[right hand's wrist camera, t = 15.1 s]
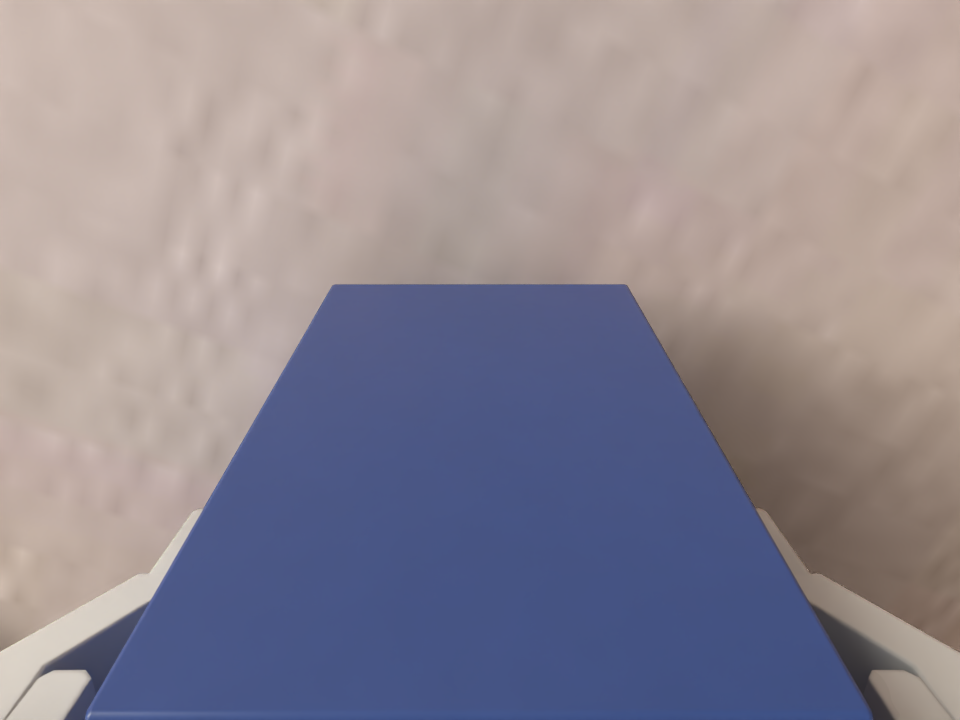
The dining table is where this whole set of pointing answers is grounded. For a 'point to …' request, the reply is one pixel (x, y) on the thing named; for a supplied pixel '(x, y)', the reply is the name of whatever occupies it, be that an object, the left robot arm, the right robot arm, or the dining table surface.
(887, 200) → the dining table surface
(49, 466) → the dining table surface
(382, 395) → the box
